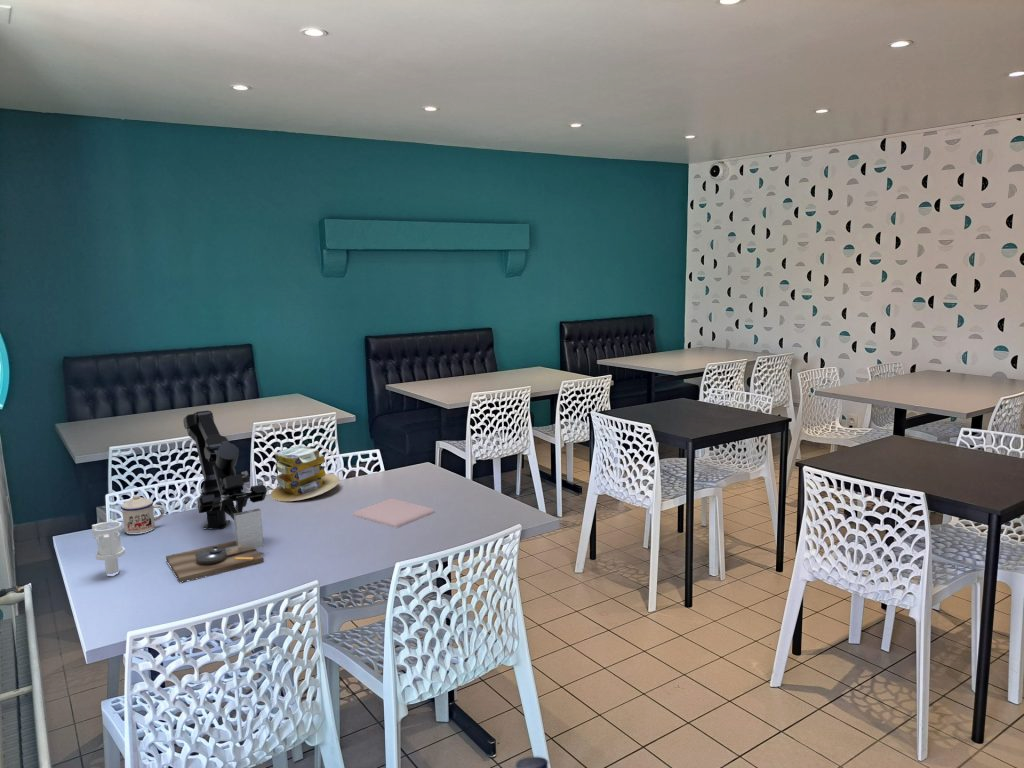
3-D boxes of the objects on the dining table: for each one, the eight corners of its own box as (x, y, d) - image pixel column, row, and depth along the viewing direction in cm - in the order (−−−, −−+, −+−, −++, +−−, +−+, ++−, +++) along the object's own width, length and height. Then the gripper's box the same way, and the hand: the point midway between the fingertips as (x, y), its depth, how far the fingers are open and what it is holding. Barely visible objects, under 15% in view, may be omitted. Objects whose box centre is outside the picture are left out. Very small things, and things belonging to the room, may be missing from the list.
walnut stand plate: (166, 561, 209) (165, 556, 209) (245, 543, 222) (245, 538, 221) (180, 583, 195) (179, 577, 194) (263, 562, 207) (263, 557, 207)
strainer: (94, 574, 201) (88, 522, 199) (122, 566, 206) (116, 515, 203) (102, 582, 196) (96, 528, 194) (130, 573, 201) (125, 521, 198)
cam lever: (199, 566, 200) (196, 527, 198) (192, 557, 206) (189, 519, 205) (267, 550, 210) (264, 513, 208) (258, 542, 217) (255, 505, 215)
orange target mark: (234, 560, 205) (234, 558, 205) (236, 558, 207) (236, 557, 206) (252, 560, 205) (251, 559, 205) (253, 558, 206) (253, 557, 206)
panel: (375, 498, 264) (375, 491, 263) (445, 516, 244) (444, 509, 243) (294, 527, 236) (293, 520, 236) (365, 550, 216) (364, 542, 216)
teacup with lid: (125, 538, 227) (121, 502, 226) (122, 529, 235) (118, 494, 233) (167, 530, 234) (163, 494, 232) (163, 521, 241) (160, 487, 239)
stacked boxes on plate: (276, 507, 254) (273, 460, 251) (265, 487, 276) (262, 444, 273) (347, 495, 265) (344, 450, 262) (331, 478, 287) (328, 436, 284)
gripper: (196, 469, 208) (209, 516, 201) (262, 457, 219) (277, 503, 212) (192, 489, 216) (204, 536, 209) (256, 477, 226) (270, 521, 219)
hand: (240, 523), depth 212 cm, fingers closed
